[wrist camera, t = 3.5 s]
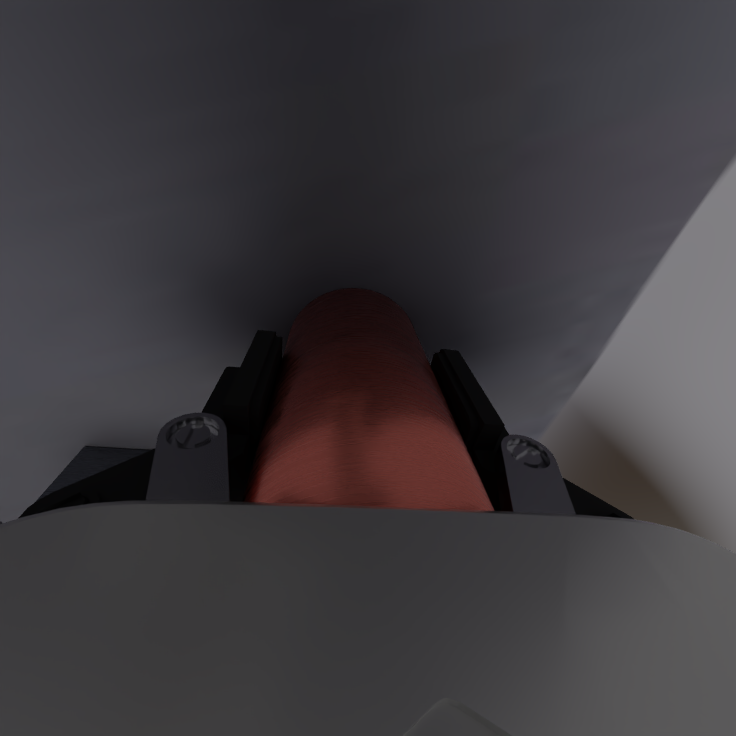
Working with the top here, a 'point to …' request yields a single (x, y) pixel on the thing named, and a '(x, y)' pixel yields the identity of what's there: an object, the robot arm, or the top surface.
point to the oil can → (360, 416)
